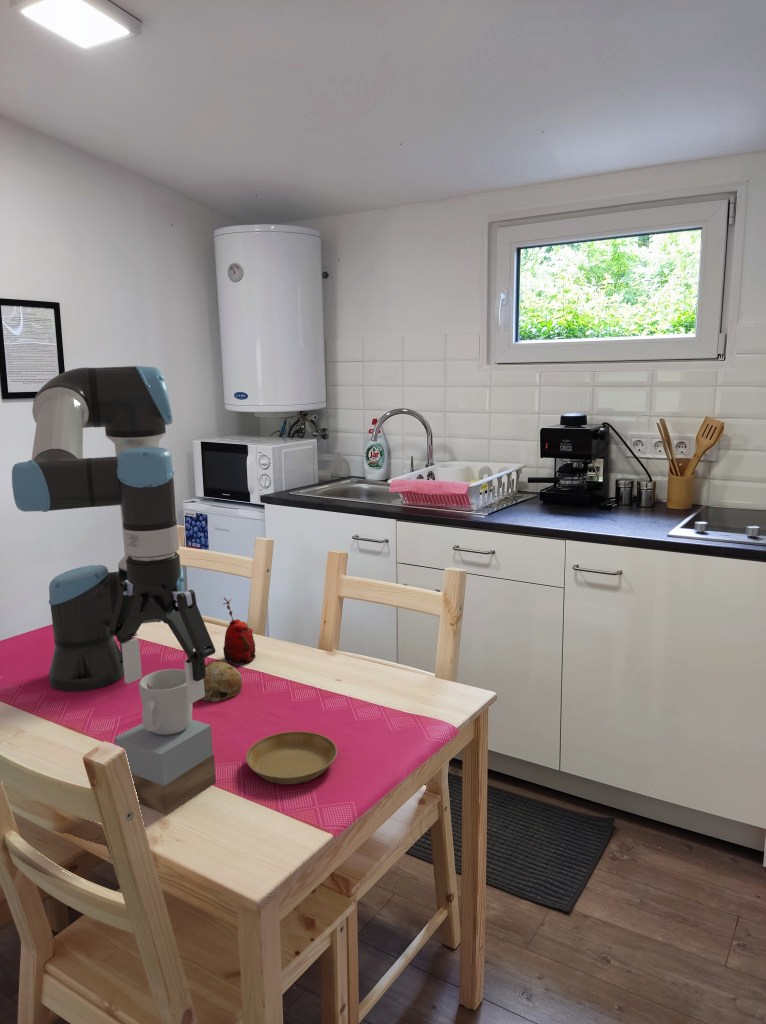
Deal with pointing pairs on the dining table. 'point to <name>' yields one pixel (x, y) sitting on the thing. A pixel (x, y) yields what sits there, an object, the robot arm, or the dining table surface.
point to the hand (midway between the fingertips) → (164, 689)
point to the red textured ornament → (238, 641)
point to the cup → (165, 702)
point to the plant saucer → (291, 756)
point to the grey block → (166, 751)
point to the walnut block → (175, 788)
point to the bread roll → (221, 681)
